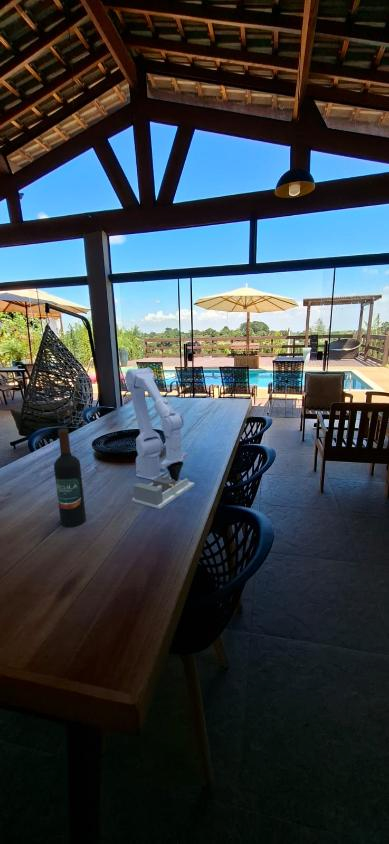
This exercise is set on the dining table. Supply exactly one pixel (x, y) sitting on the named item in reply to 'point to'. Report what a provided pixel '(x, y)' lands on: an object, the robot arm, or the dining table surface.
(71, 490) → the wine bottle
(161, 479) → the block with orange peg
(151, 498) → the gauge frame
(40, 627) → the dining table surface
